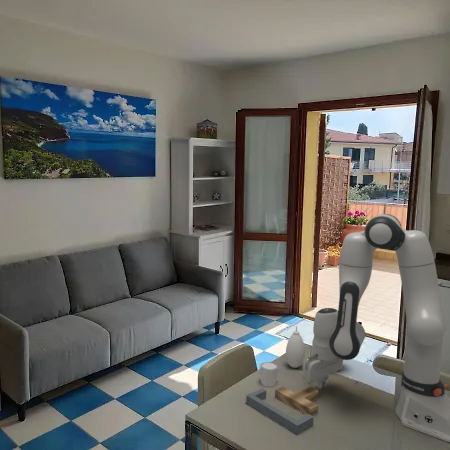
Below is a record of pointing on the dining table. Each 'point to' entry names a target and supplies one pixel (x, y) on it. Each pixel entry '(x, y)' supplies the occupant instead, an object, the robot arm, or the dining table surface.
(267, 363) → the white cylinder
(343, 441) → the dining table surface
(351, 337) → the robot arm
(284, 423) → the dock
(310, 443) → the dining table surface
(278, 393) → the t block
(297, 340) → the sauce bottle
